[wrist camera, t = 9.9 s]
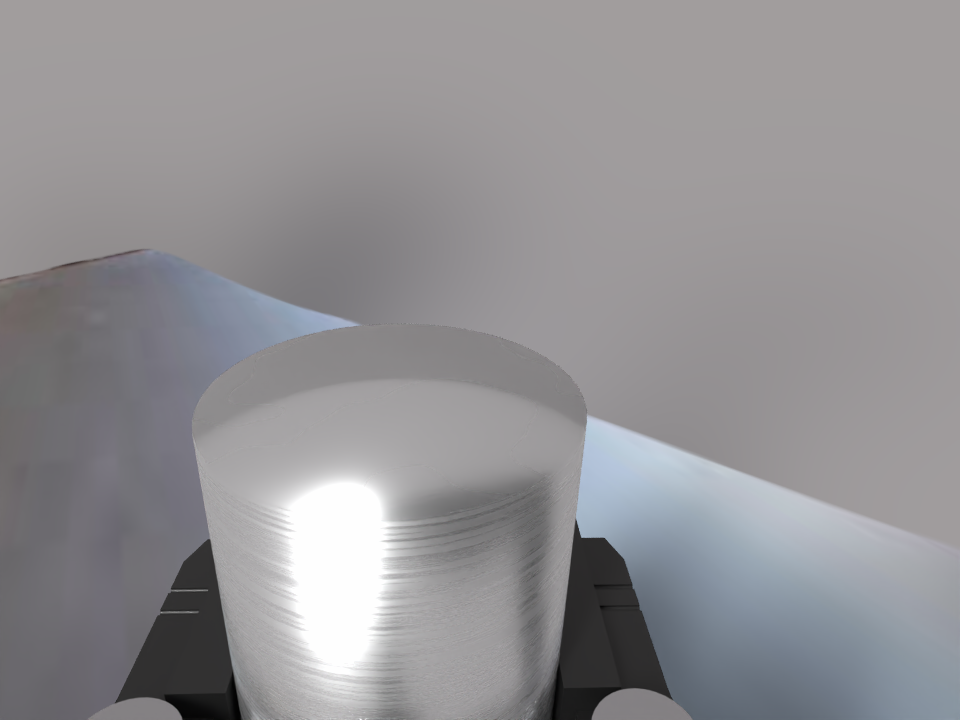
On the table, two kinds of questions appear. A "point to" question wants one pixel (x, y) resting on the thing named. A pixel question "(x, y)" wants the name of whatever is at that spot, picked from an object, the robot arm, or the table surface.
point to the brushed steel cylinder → (392, 523)
